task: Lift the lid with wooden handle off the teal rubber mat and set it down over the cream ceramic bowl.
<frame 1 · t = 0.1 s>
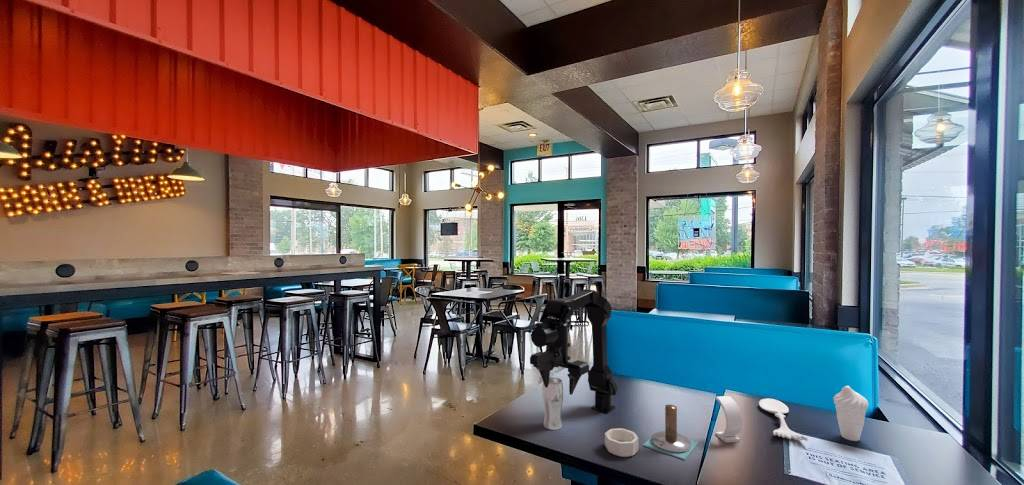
hand: (558, 390, 126), 15 cm above the table, tool pointing down, fingers open, 9 cm apart
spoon: (779, 424, 136), on the table
lid with wooden handle: (671, 425, 122), on the teal rubber mat
soft serve ice cream cone: (850, 438, 125), on the table
beer glass: (552, 426, 134), on the table
headphone stand: (728, 439, 125), on the table
teal rubber mat: (671, 444, 122), on the table
cream ceramic bowl: (621, 449, 119), on the table
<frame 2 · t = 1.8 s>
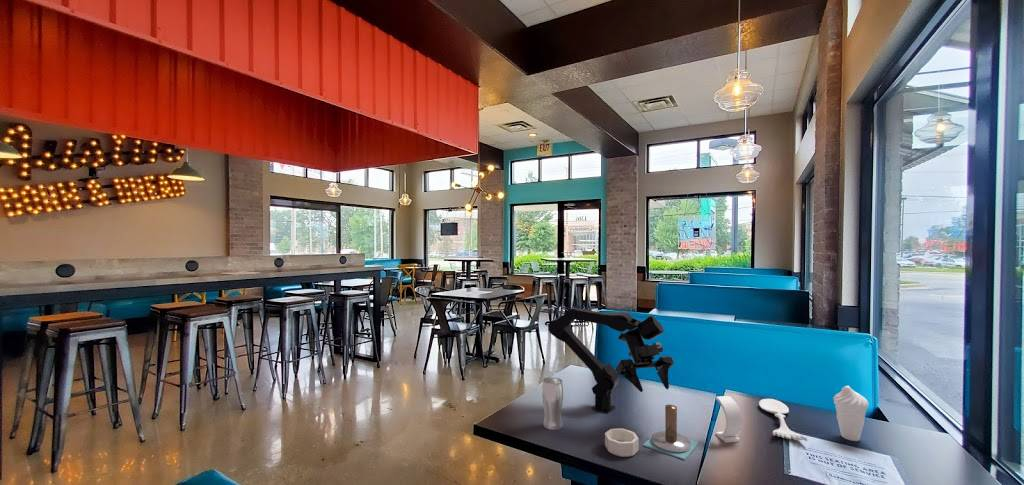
hand: (654, 390, 129), 13 cm above the table, tool tilted 45°, fingers open, 9 cm apart
nothing on the table moved.
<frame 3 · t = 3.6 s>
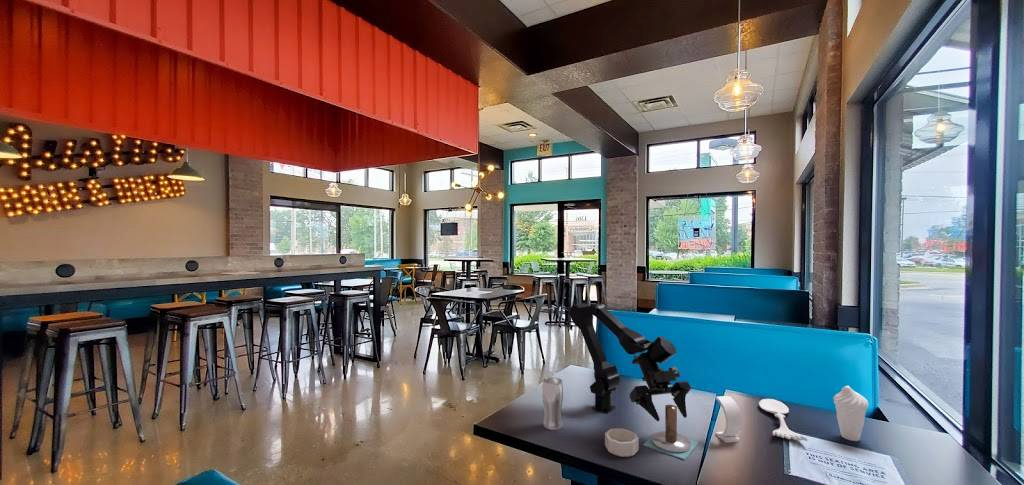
hand: (672, 419, 121), 8 cm above the table, tool tilted 45°, fingers open, 9 cm apart
nothing on the table moved.
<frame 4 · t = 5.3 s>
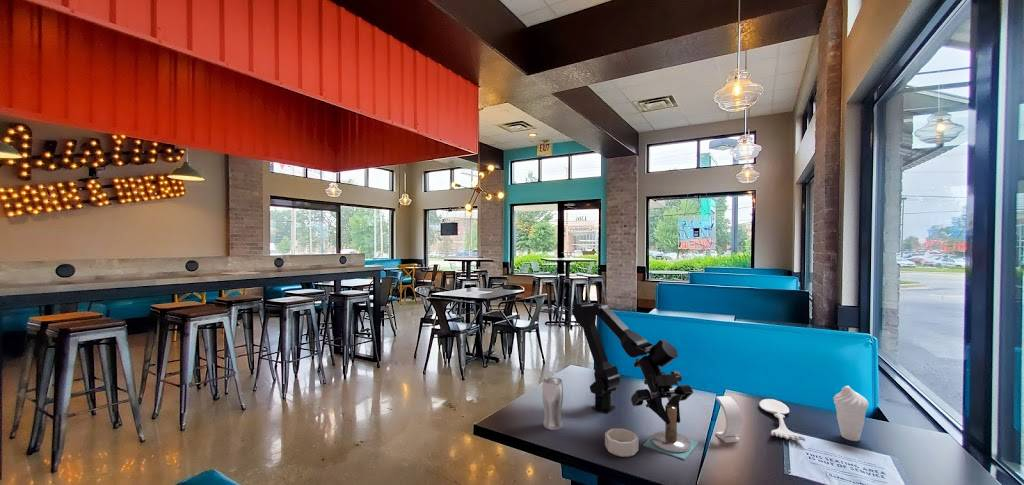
hand: (673, 423, 120), 7 cm above the table, tool tilted 45°, fingers closed on lid with wooden handle, 3 cm apart
lid with wooden handle: (671, 425, 122), on the teal rubber mat, touching gripper
everything else where it was.
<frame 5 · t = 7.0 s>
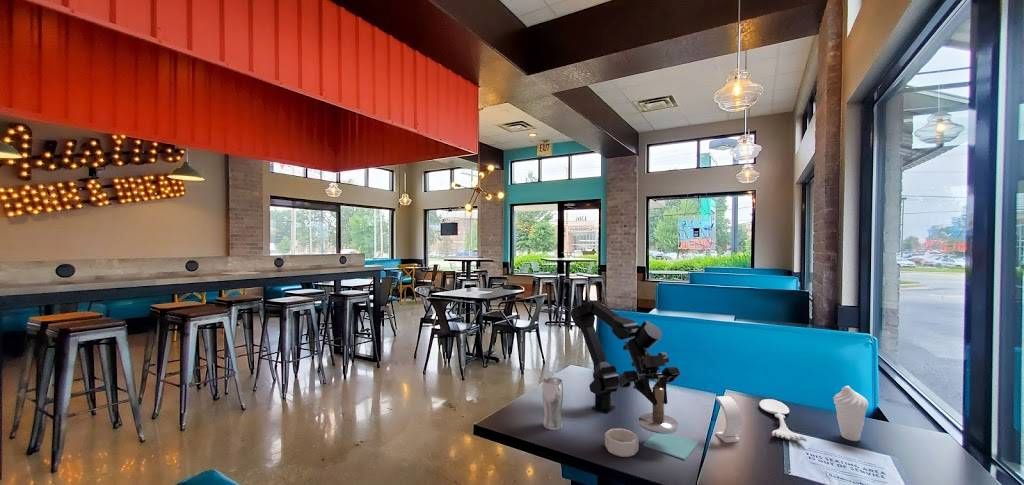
hand: (661, 404, 120), 13 cm above the table, tool tilted 45°, fingers closed on lid with wooden handle, 3 cm apart
lid with wooden handle: (658, 406, 121), point 12 cm above the table, touching gripper
everything else where it was.
when the fingers open (12 cm above the table, at t = 9.0 s): lid with wooden handle stays where it is, resting on cream ceramic bowl.
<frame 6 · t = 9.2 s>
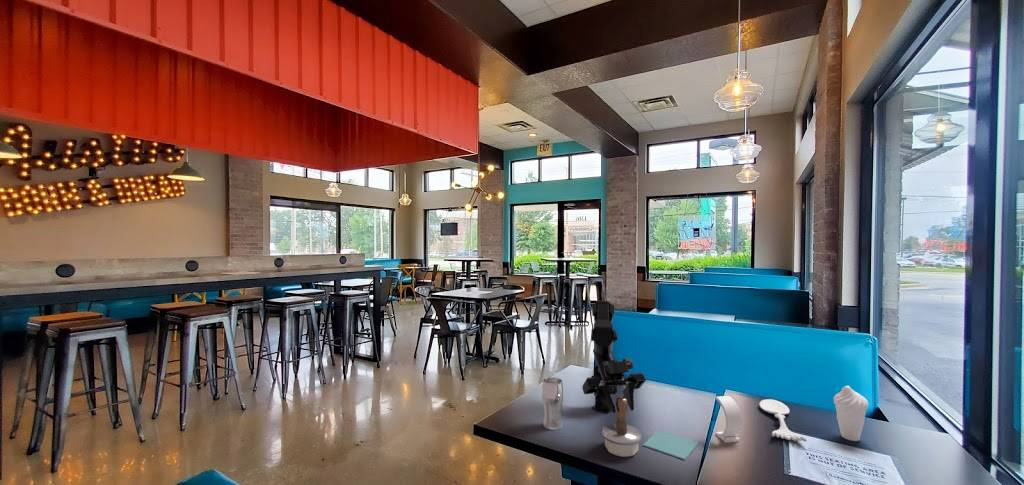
hand: (623, 411, 118), 12 cm above the table, tool tilted 45°, fingers open, 5 cm apart
lid with wooden handle: (621, 416, 119), on the cream ceramic bowl, point 10 cm above the table
everything else where it was.
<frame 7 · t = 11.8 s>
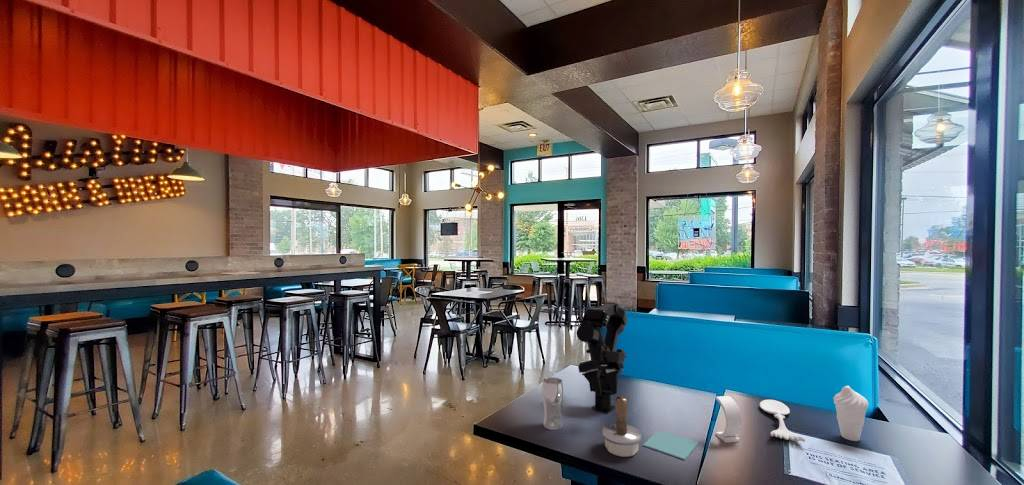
hand: (607, 394, 130), 12 cm above the table, tool tilted 30°, fingers open, 9 cm apart
nothing on the table moved.
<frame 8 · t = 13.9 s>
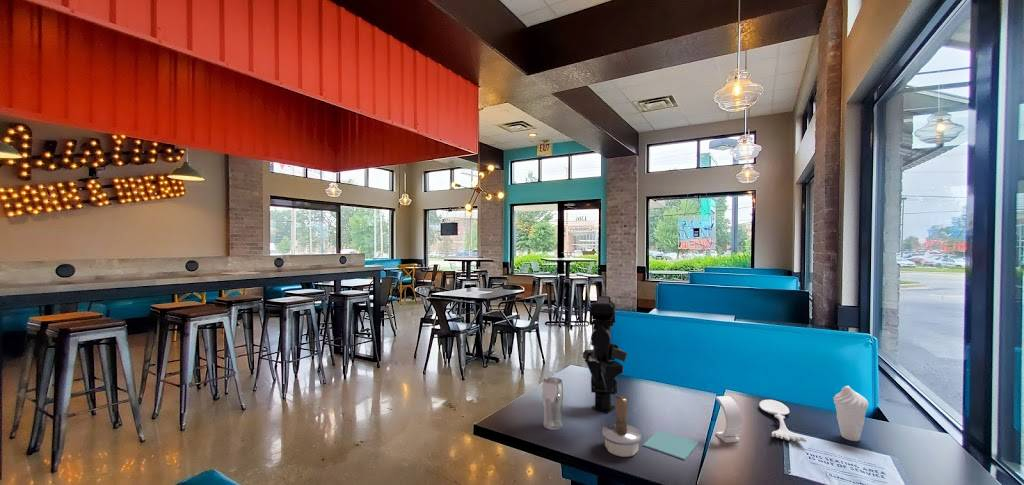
hand: (602, 386, 137), 12 cm above the table, tool pointing down, fingers open, 9 cm apart
at the end: lid with wooden handle 0.0 cm off-centre on the cream ceramic bowl, point 9.5 cm above the cream ceramic bowl's base; lid with wooden handle tilted 0°; the gripper is holding nothing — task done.
